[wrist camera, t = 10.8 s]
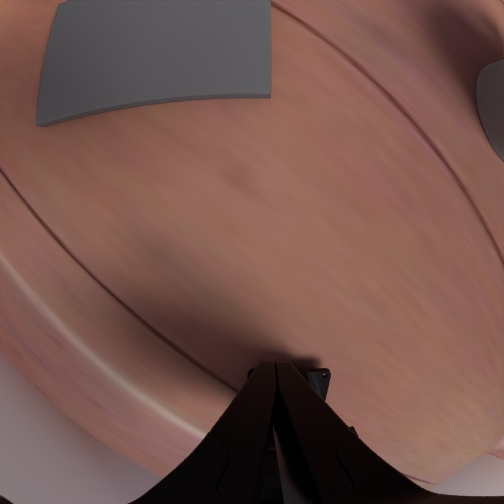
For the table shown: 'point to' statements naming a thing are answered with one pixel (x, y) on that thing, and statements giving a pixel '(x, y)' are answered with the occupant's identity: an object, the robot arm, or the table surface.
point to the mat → (153, 54)
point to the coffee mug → (492, 104)
